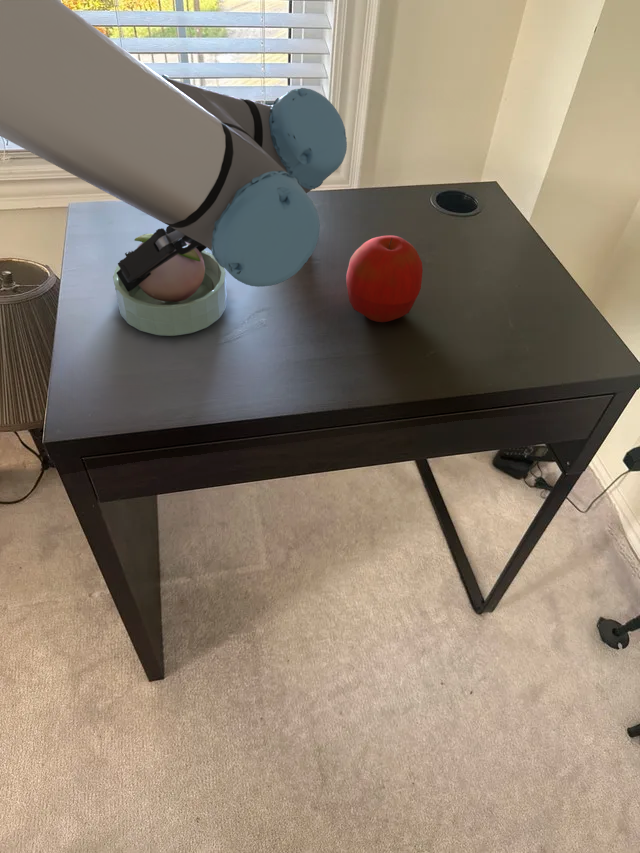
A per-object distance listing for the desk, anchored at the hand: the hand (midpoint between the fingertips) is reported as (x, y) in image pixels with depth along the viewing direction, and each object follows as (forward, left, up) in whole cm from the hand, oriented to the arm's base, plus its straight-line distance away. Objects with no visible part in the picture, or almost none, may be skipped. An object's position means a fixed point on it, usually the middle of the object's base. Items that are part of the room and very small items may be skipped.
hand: (154, 266), depth 85 cm
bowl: (+2, -3, -5) cm, 6 cm away
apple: (+29, -11, -5) cm, 31 cm away
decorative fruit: (+1, -3, -4) cm, 5 cm away
